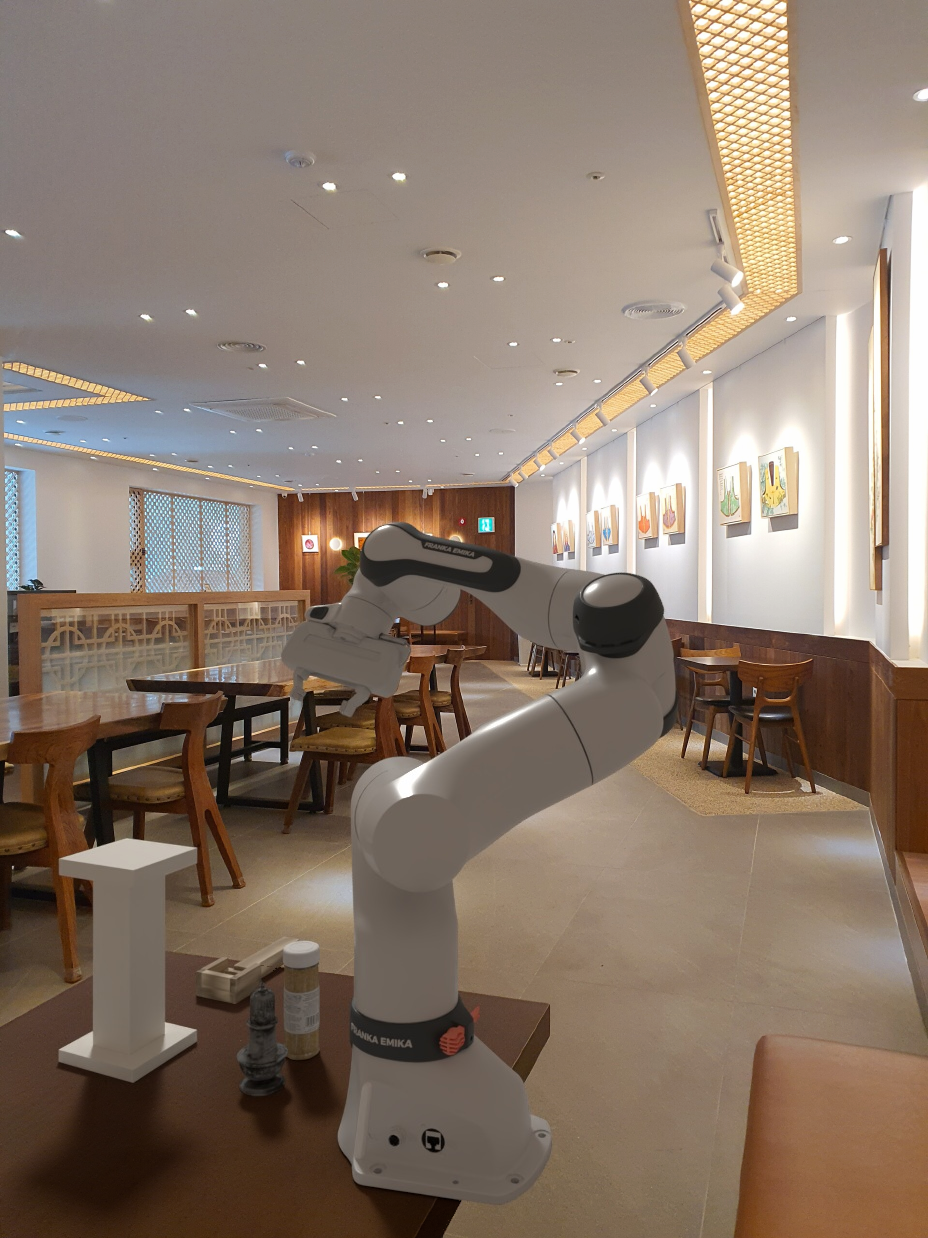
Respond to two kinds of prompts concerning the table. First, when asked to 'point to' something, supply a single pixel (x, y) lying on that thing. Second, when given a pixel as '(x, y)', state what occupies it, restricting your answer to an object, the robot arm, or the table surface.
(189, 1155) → the table surface
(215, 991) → the scoop
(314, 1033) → the sprinkles bottle
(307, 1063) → the table surface
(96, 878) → the pedestal shelf
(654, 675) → the robot arm
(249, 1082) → the dark tall tiered piece
